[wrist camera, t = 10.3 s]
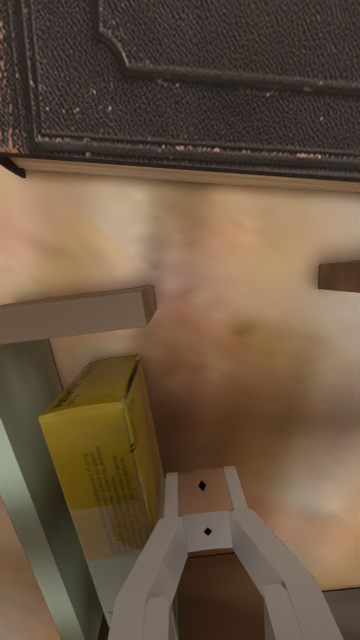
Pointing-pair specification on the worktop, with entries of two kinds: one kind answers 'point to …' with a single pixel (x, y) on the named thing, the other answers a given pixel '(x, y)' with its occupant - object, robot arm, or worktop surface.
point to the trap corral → (48, 498)
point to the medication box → (109, 469)
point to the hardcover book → (183, 90)
